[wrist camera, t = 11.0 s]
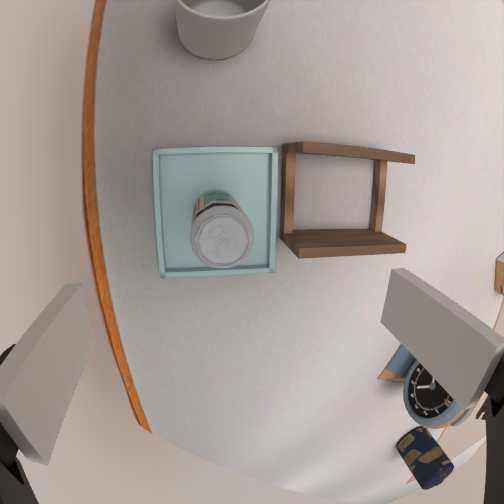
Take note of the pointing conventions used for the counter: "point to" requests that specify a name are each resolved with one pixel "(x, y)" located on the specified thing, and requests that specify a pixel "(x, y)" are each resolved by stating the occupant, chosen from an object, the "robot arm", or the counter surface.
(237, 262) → the beer can
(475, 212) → the counter surface
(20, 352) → the robot arm
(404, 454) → the canister
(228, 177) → the tray
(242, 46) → the mug
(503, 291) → the small box
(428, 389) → the alarm clock
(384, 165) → the cradle
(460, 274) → the counter surface
